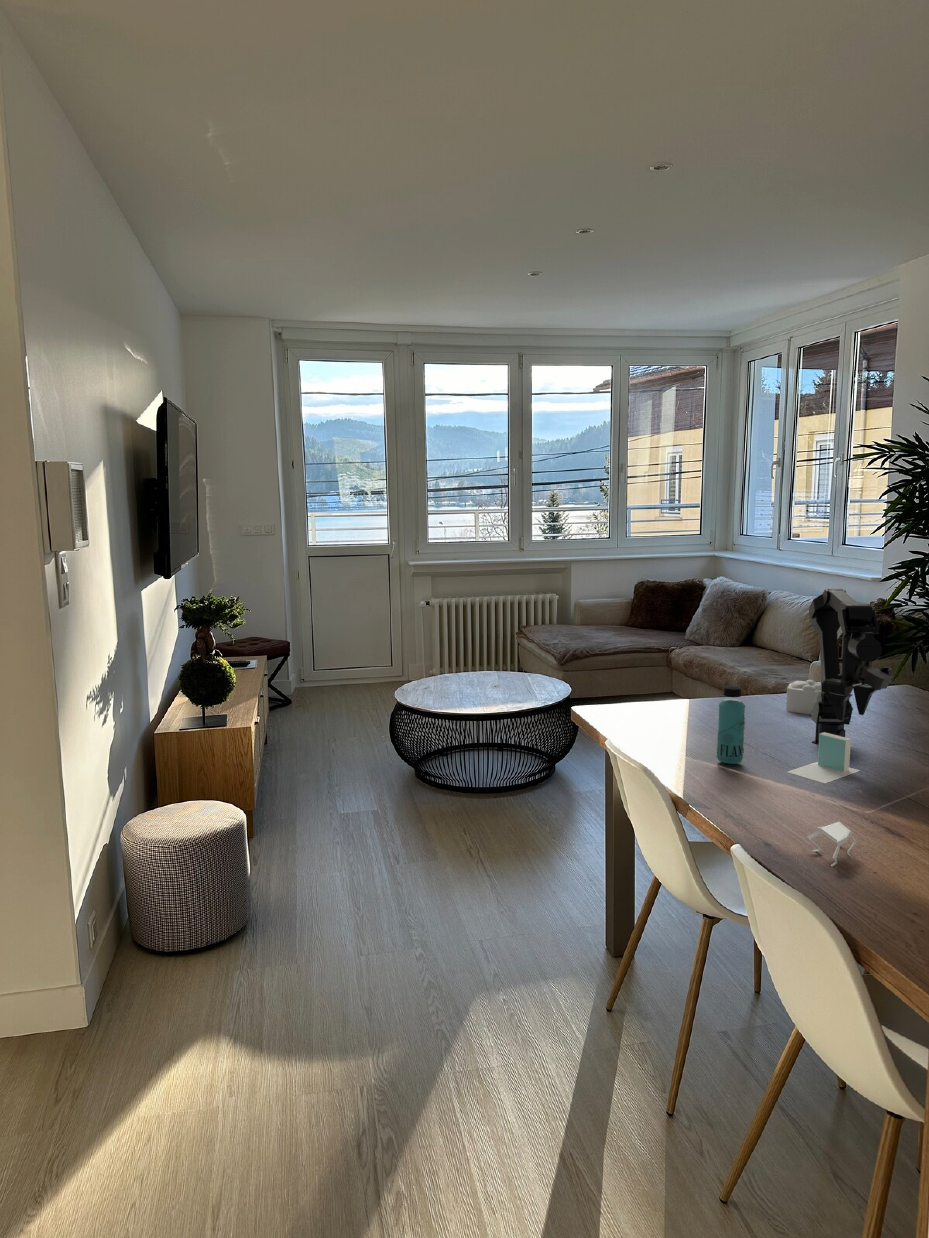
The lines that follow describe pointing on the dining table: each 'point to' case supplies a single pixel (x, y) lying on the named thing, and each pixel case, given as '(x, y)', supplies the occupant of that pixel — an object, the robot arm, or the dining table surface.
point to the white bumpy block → (802, 696)
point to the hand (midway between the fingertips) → (851, 717)
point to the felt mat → (821, 773)
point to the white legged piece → (834, 837)
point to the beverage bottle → (731, 727)
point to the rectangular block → (834, 752)
